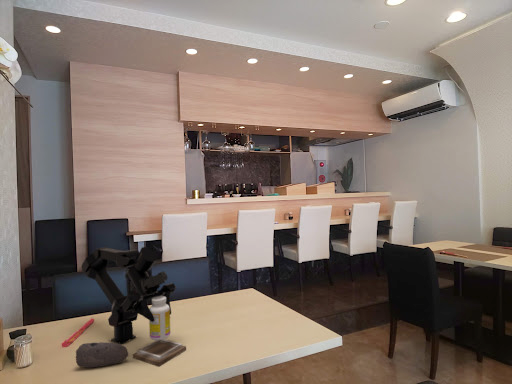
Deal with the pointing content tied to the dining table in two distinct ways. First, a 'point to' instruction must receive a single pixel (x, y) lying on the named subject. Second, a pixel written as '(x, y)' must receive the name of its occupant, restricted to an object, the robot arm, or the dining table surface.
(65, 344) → the chopstick
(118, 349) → the perforated stone tool
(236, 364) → the dining table surface
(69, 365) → the dining table surface
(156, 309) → the supplement bottle
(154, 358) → the seat plate
